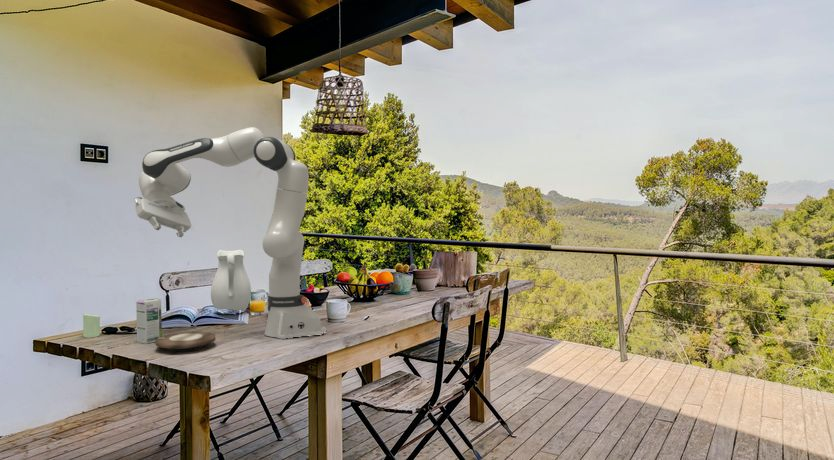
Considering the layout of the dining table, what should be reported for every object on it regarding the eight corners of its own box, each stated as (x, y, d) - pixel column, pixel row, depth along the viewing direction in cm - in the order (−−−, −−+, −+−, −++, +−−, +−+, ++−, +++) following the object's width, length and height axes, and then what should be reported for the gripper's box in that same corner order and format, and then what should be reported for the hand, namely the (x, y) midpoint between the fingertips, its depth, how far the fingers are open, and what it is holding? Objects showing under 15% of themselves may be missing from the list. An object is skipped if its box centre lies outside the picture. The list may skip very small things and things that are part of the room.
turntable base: (205, 342, 172) (205, 337, 172) (199, 350, 163) (199, 345, 163) (173, 344, 170) (173, 339, 170) (165, 352, 160) (165, 346, 160)
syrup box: (145, 344, 170) (145, 301, 170) (136, 341, 173) (135, 299, 173) (162, 340, 175) (161, 299, 174) (152, 338, 178) (152, 297, 178)
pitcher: (212, 310, 231) (212, 249, 231) (251, 308, 236) (251, 249, 236) (207, 320, 209) (207, 253, 208) (250, 318, 214) (250, 252, 213)
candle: (95, 333, 184) (95, 311, 184) (102, 335, 181) (102, 313, 181) (80, 336, 180) (80, 313, 180) (87, 338, 177) (87, 315, 177)
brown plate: (219, 333, 177) (219, 329, 177) (210, 346, 160) (210, 342, 160) (163, 336, 173) (163, 332, 173) (148, 349, 156) (148, 345, 156)
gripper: (139, 189, 175) (149, 218, 168) (188, 207, 192) (198, 234, 186) (127, 201, 176) (136, 230, 169) (177, 218, 193) (187, 245, 187)
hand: (169, 232), depth 177 cm, fingers open, 8 cm apart
